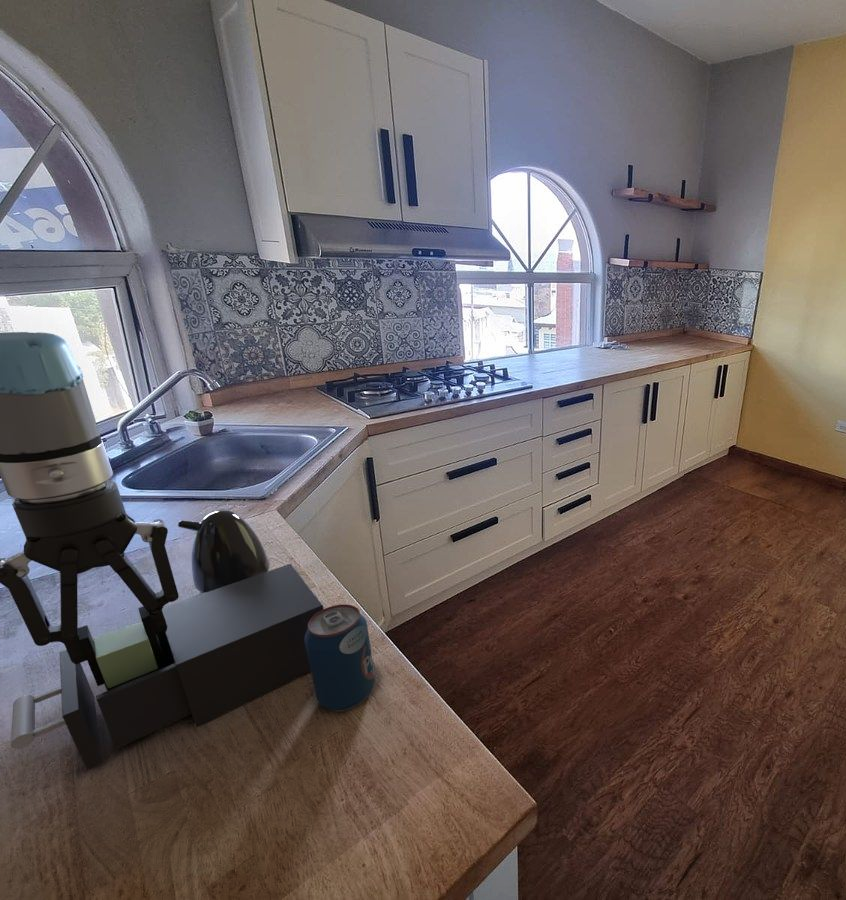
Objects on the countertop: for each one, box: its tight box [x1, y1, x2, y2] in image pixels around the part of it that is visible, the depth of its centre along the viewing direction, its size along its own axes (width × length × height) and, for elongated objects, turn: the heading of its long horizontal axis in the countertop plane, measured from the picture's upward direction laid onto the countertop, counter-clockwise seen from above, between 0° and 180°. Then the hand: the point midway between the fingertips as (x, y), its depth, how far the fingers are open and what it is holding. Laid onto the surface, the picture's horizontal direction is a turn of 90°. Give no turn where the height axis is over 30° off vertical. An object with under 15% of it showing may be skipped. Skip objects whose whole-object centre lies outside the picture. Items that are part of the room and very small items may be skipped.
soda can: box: [304, 603, 376, 712], centre depth 63 cm, size 7×7×12 cm
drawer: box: [10, 632, 192, 771], centre depth 60 cm, size 19×12×8 cm, turn 136°
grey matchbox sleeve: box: [162, 563, 325, 728], centre depth 68 cm, size 16×14×10 cm
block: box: [93, 621, 158, 689], centre depth 59 cm, size 4×4×4 cm
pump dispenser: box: [177, 509, 271, 594], centre depth 81 cm, size 10×10×15 cm
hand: (130, 666), depth 59 cm, fingers closed on block, 4 cm apart
